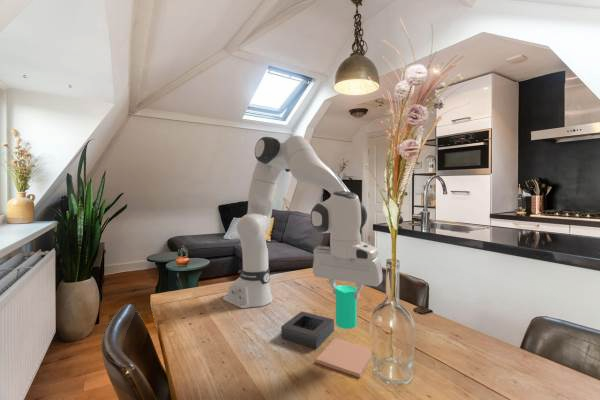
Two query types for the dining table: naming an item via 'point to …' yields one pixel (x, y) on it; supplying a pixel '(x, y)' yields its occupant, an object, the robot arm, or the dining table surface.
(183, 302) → the dining table surface
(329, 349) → the tile
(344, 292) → the candle
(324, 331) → the holder
